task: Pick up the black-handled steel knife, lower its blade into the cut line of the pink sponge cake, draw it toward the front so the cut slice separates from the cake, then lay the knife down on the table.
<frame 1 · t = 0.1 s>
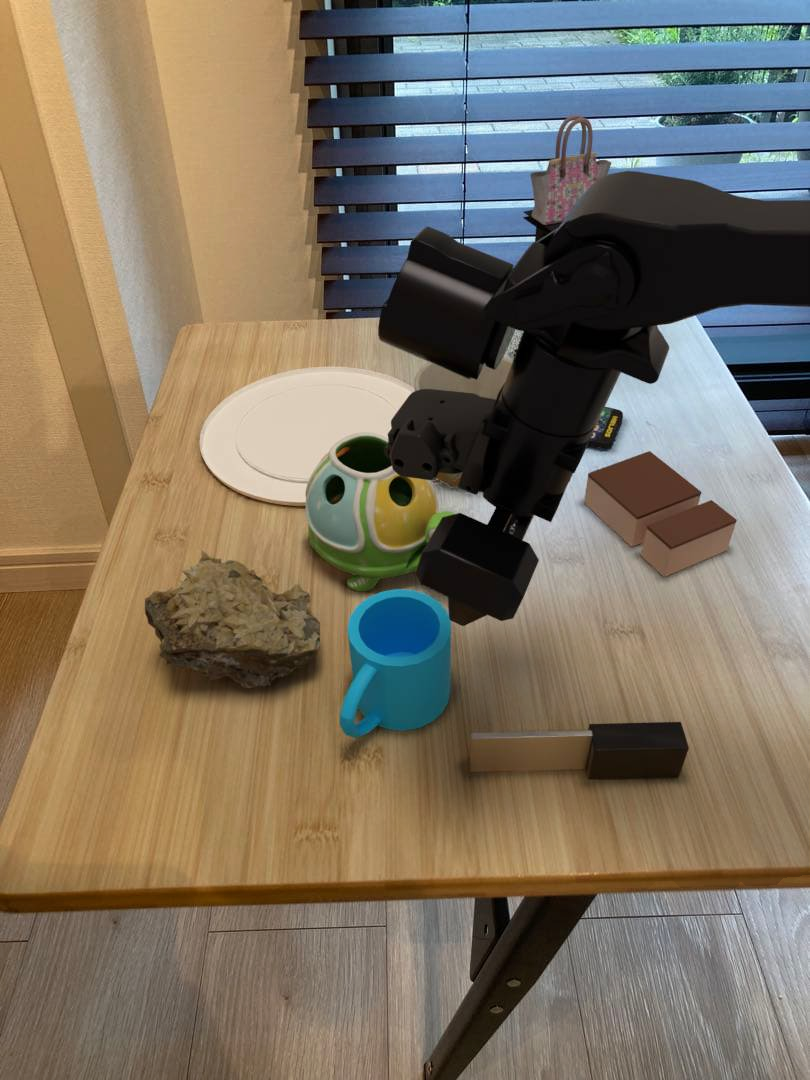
hand: (479, 576, 60), 16 cm above the table, tool pointing down, fingers open, 9 cm apart
plate: (319, 433, 101), on the table, touching planter
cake: (637, 512, 88), on the table
handbag: (552, 362, 112), on the table
knife: (572, 767, 66), on the table
planter: (469, 463, 96), on the table, touching plate
mug: (389, 707, 71), on the table
smartphone: (554, 422, 101), on the table
turtle holder: (385, 555, 85), on the table
cake slice: (684, 553, 84), on the table
mineral specimen: (251, 646, 76), on the table
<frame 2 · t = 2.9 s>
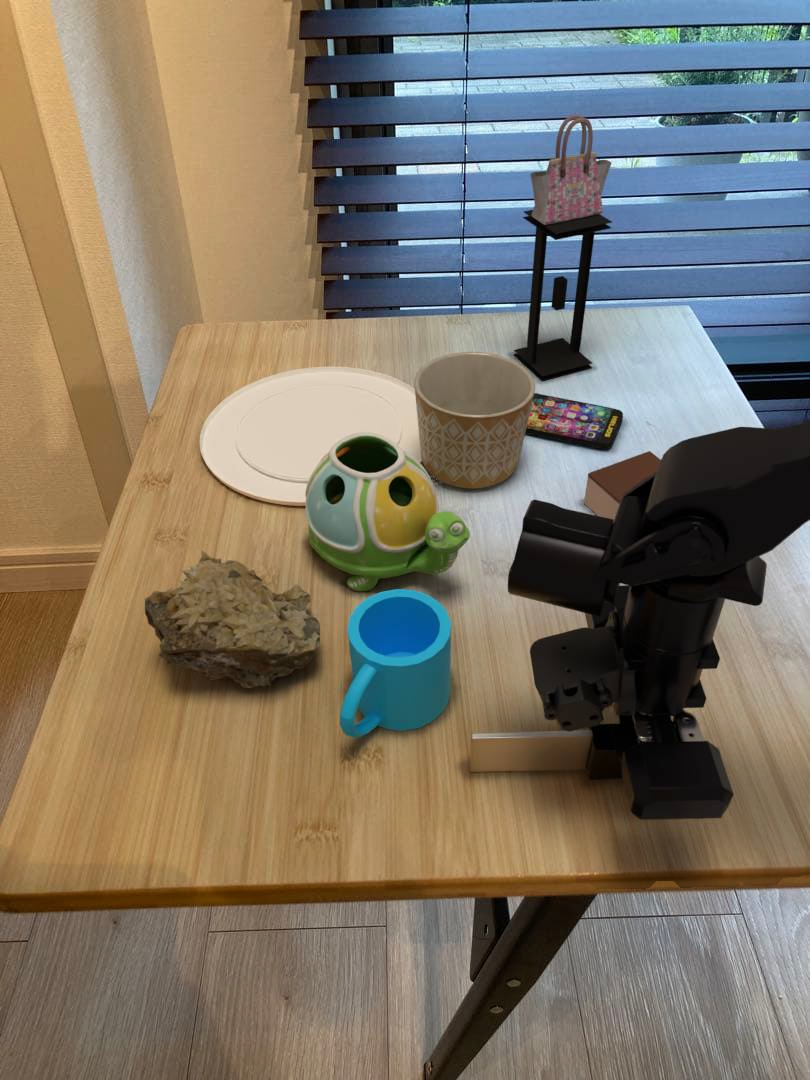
hand: (632, 758, 65), 1 cm above the table, tool pointing down, fingers closed on knife, 2 cm apart
knife: (572, 767, 66), on the table, touching gripper
everything else where it was.
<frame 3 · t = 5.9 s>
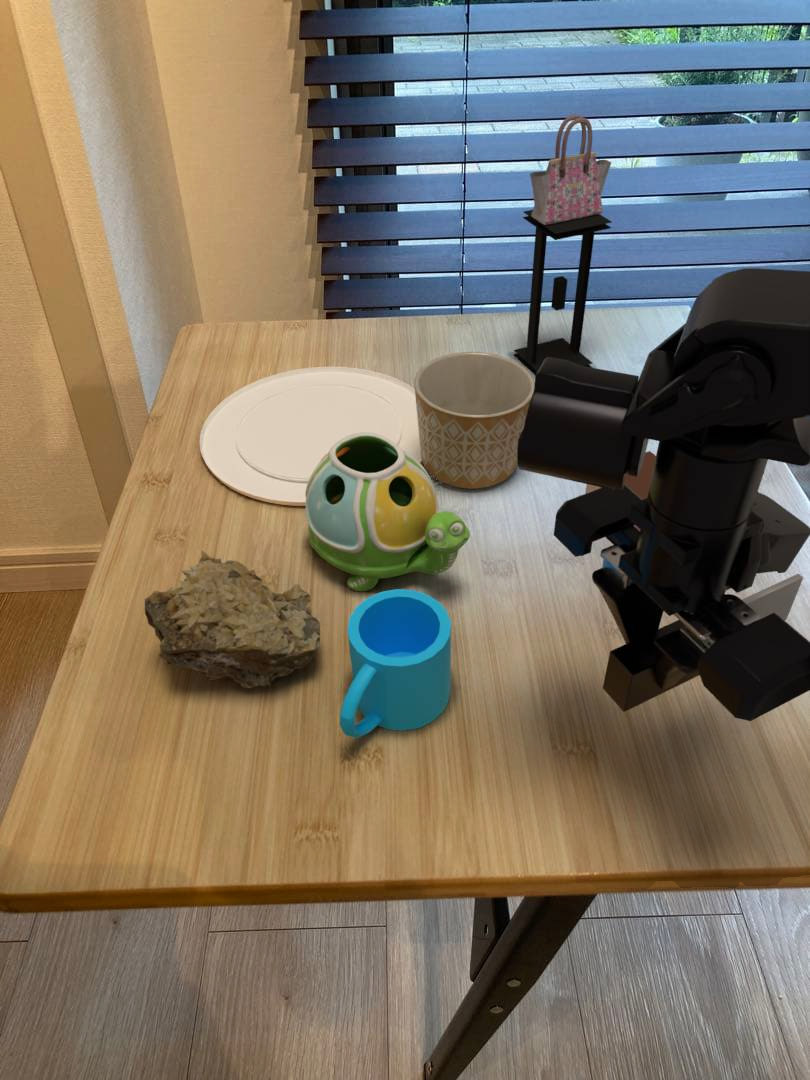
hand: (653, 672, 59), 11 cm above the table, tool pointing down, fingers closed on knife, 2 cm apart
knife: (702, 657, 61), point 10 cm above the table, touching gripper
everything else where it was.
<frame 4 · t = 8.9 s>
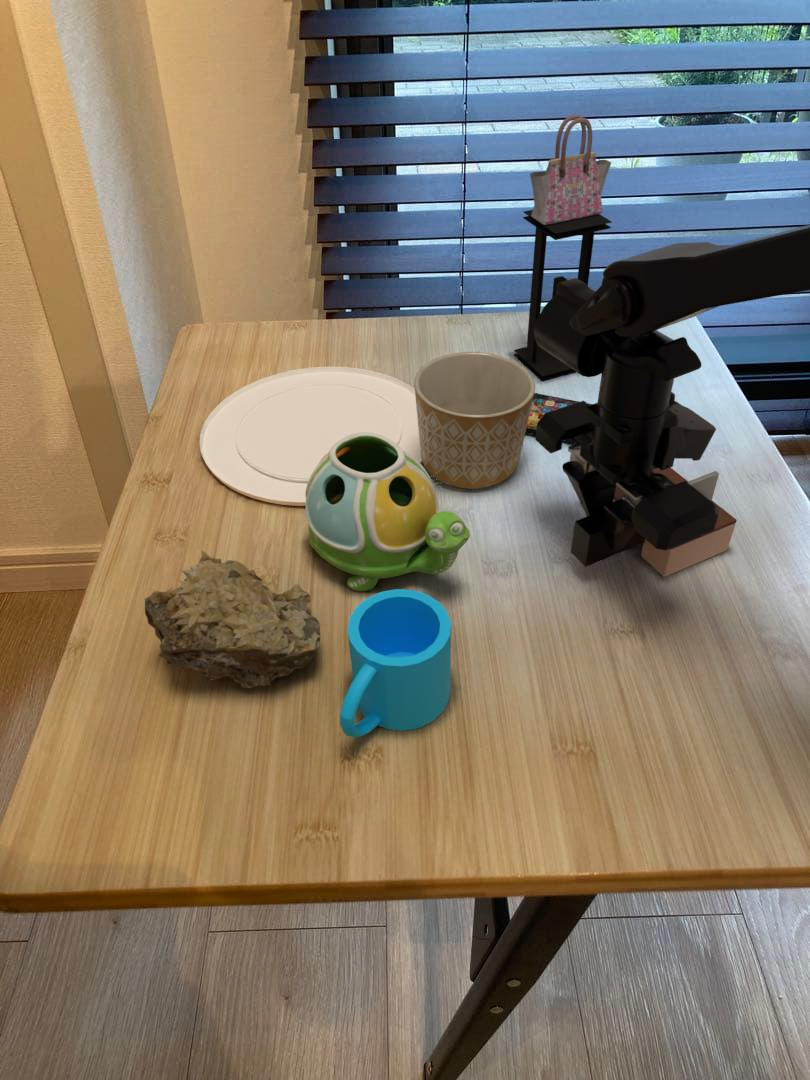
hand: (608, 540, 80), 3 cm above the table, tool pointing down, fingers closed on knife, 2 cm apart
knife: (644, 532, 83), point 2 cm above the table, touching gripper
everything else where it was.
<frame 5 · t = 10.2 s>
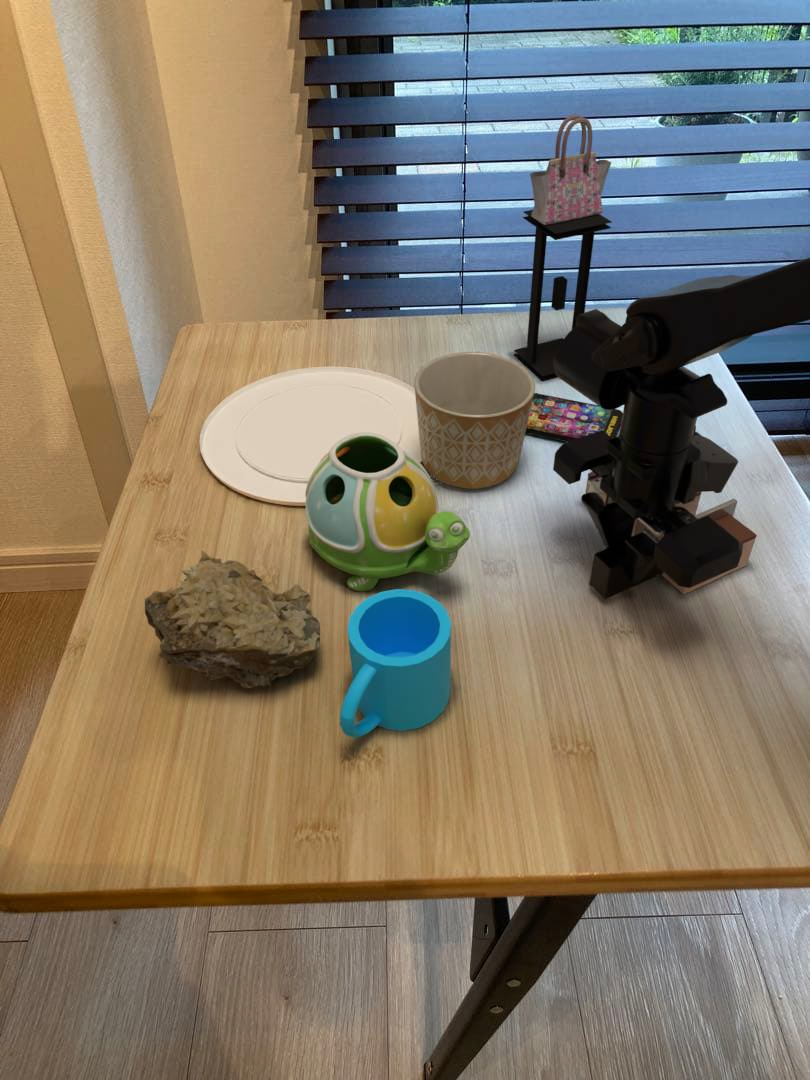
hand: (626, 572, 79), 2 cm above the table, tool pointing down, fingers closed on knife, 2 cm apart
knife: (663, 562, 81), point 1 cm above the table, touching cake slice, gripper
cake slice: (702, 569, 82), on the table, touching knife
everything else where it was.
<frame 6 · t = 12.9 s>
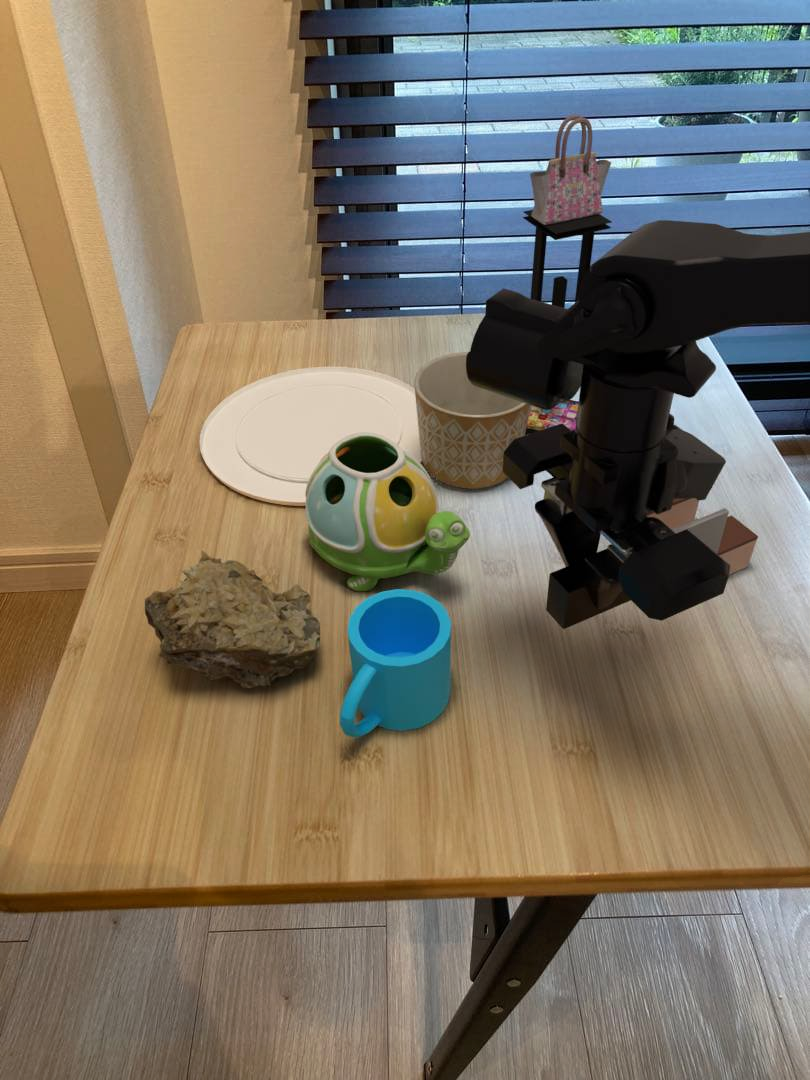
hand: (592, 595, 65), 10 cm above the table, tool pointing down, fingers closed on knife, 2 cm apart
knife: (637, 584, 67), point 9 cm above the table, touching gripper
cake slice: (703, 569, 82), on the table
everything else where it was.
when the fingers open (1 cm above the table, at t = 15.3 s): knife stays where it is, on the table.
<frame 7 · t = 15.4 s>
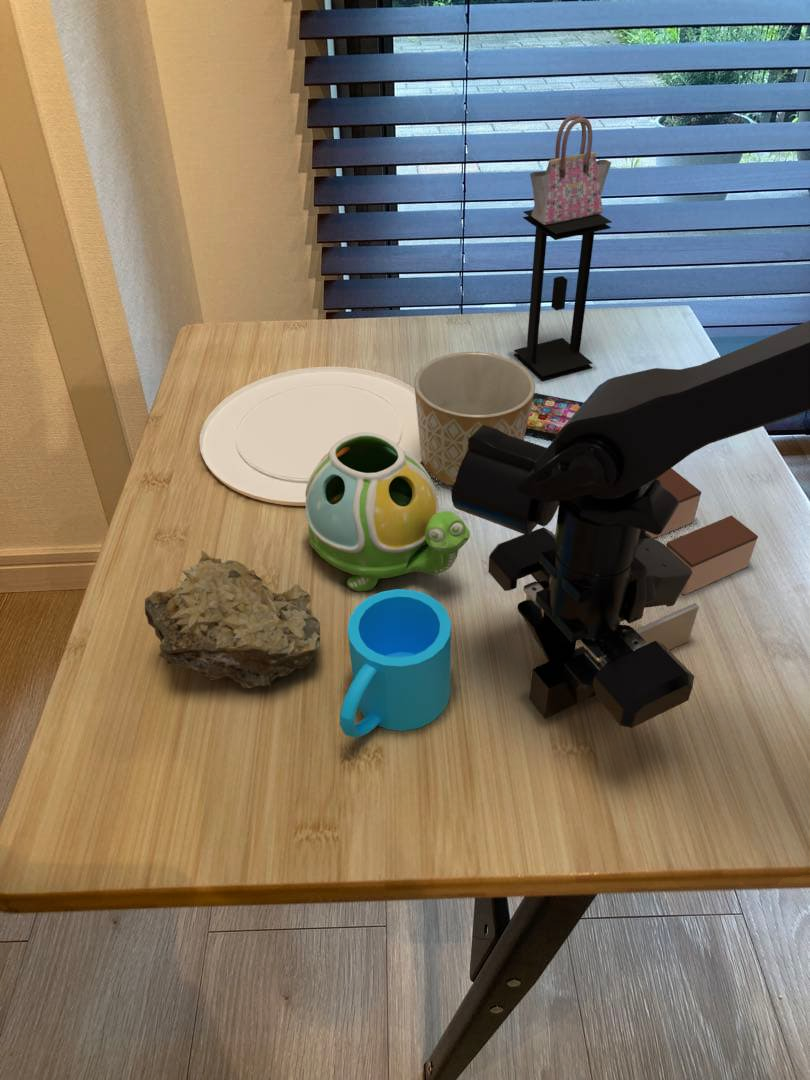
hand: (571, 686, 71), 1 cm above the table, tool pointing down
knife: (614, 673, 73), on the table
everything else where it was.
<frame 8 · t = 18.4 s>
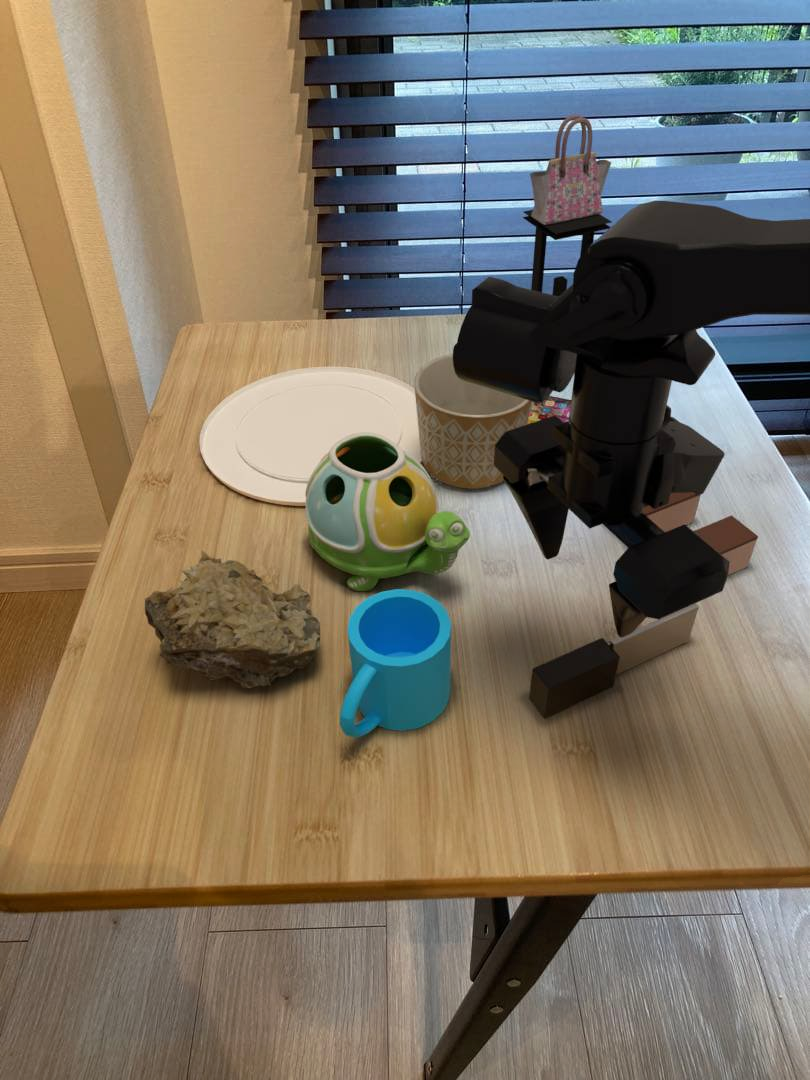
hand: (586, 593, 63), 12 cm above the table, tool pointing down, fingers open, 9 cm apart
nothing on the table moved.
at the end: cake slice moved 2.7 cm from its start; cake slice touching table; the gripper is holding nothing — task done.
